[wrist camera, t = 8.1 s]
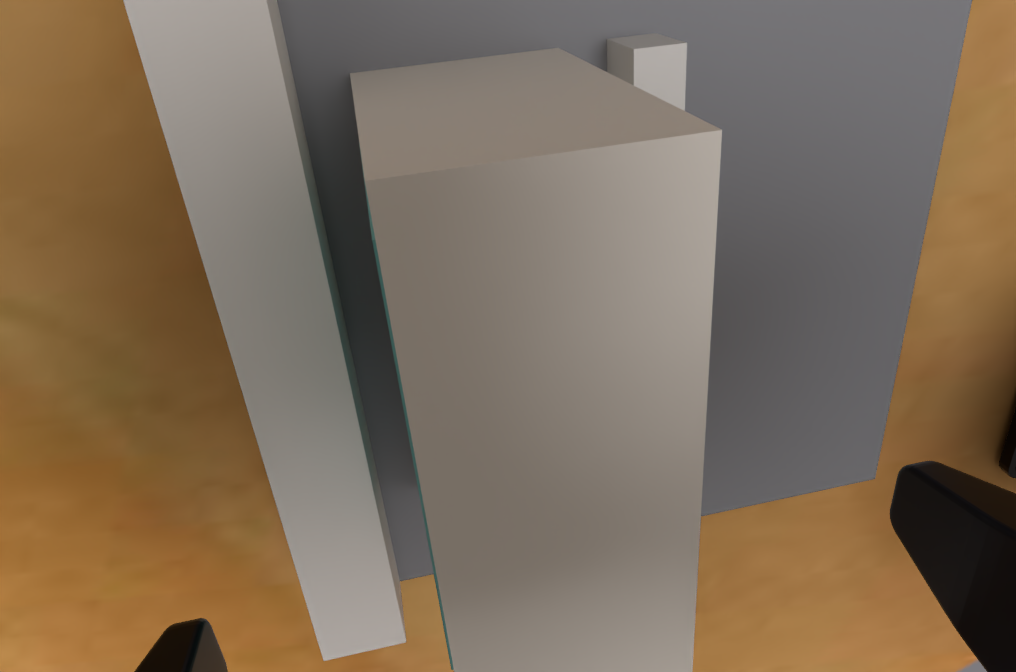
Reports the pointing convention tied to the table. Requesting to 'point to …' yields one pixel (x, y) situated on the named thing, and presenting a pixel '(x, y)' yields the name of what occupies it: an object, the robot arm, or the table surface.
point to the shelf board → (738, 256)
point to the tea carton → (548, 349)
